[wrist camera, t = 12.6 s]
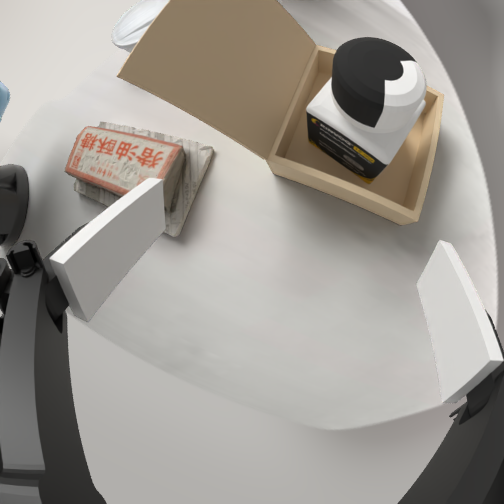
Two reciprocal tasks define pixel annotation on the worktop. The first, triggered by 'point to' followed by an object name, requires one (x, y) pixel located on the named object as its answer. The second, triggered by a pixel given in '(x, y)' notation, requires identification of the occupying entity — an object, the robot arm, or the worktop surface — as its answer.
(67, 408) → the robot arm
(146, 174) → the packaged product
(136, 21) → the ramekin
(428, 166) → the mailer
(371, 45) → the medicine bottle
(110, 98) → the worktop surface
